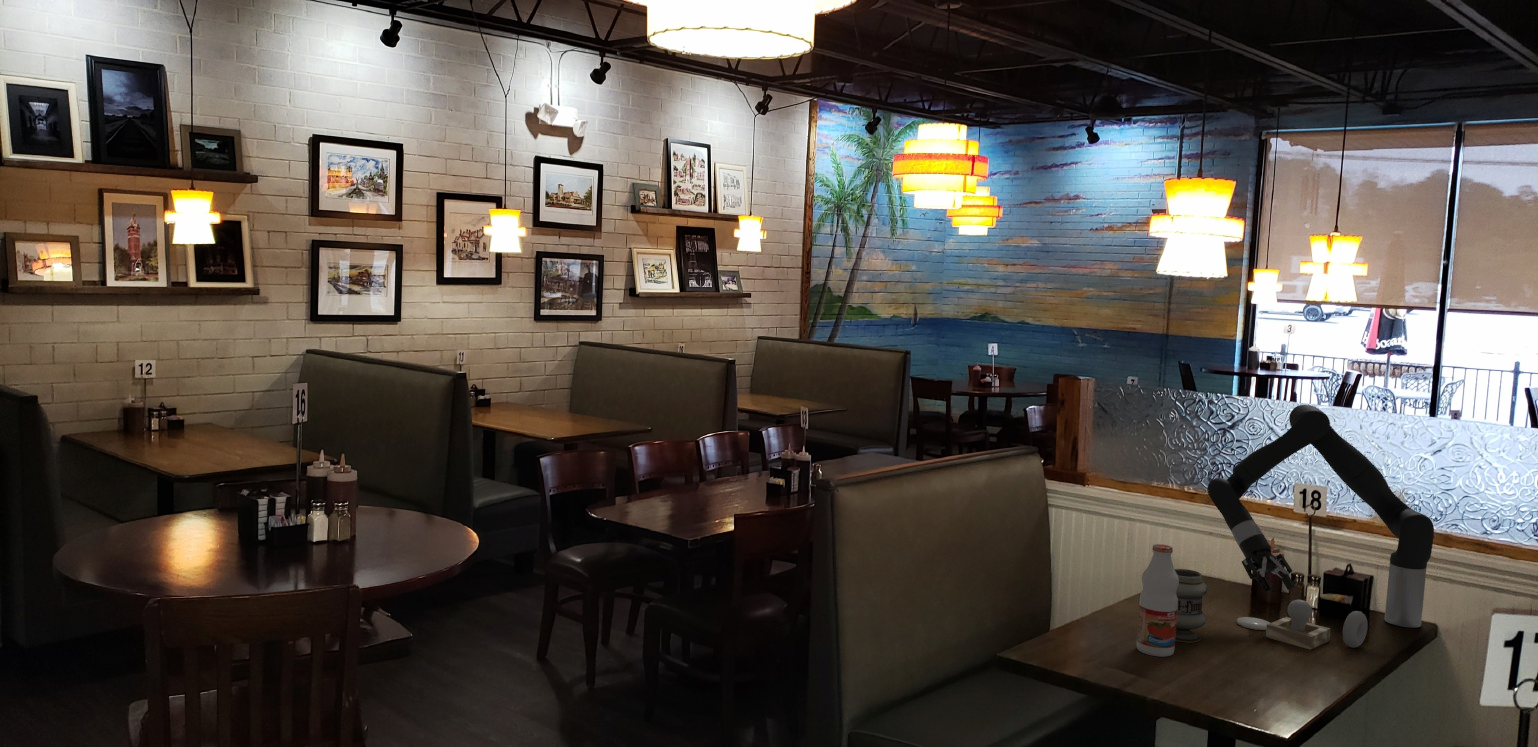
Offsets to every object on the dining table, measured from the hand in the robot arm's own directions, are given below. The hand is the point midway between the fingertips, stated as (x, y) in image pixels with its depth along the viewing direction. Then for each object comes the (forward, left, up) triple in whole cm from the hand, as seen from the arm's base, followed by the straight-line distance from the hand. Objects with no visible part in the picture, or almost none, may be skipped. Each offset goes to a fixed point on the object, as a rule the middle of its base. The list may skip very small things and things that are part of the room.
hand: (1280, 589), depth 299 cm
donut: (-4, +19, -12) cm, 23 cm away
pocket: (+2, +6, -12) cm, 14 cm away
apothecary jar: (+28, -14, -12) cm, 33 cm away
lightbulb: (+2, +6, -12) cm, 14 cm away
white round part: (0, -7, -12) cm, 14 cm away
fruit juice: (+45, -12, -12) cm, 48 cm away
